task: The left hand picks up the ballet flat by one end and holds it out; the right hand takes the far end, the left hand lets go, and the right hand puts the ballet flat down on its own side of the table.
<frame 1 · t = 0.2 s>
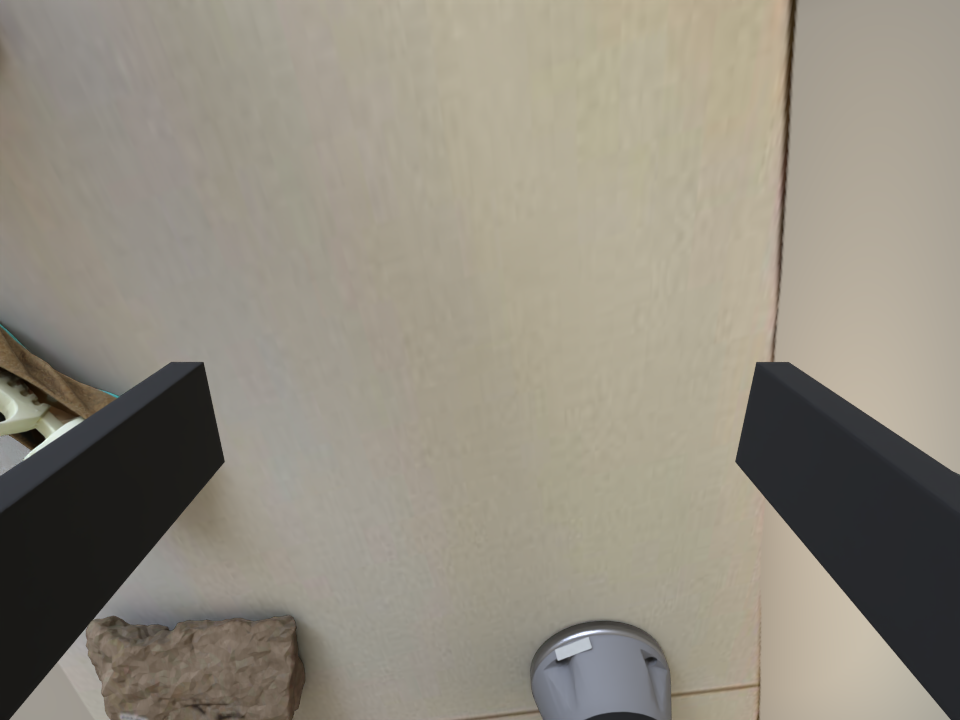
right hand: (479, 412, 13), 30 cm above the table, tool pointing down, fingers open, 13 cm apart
stone: (214, 649, 58), on the table
ballet flat: (73, 391, 45), on the table
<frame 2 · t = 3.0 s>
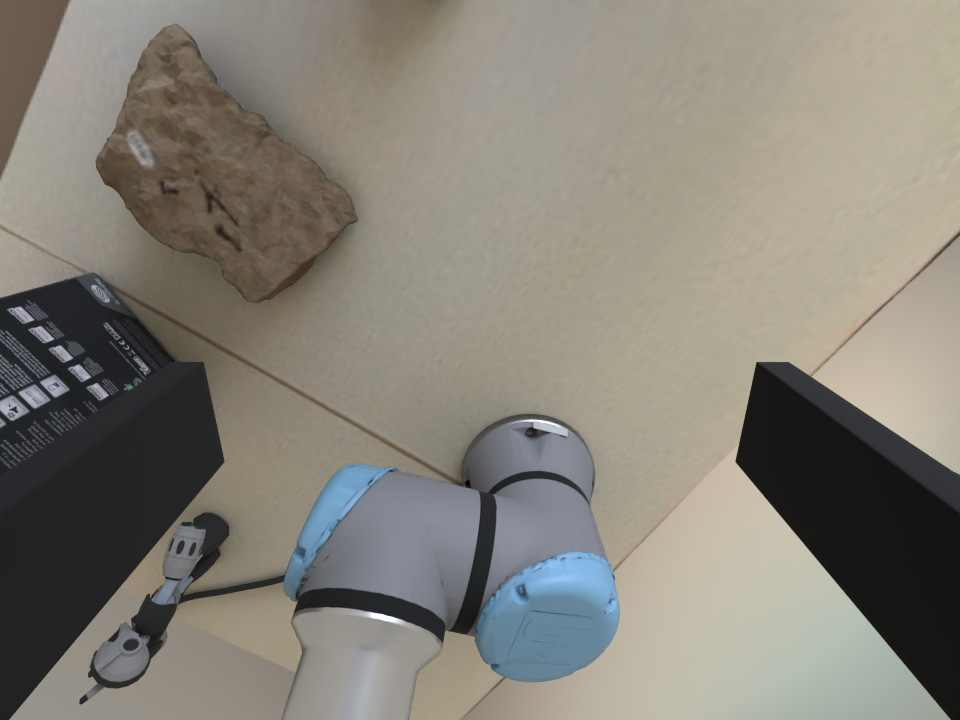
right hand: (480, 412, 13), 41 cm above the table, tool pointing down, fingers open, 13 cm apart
stone: (241, 179, 49), on the table
robot: (208, 537, 65), on the table
graphics card box: (136, 347, 55), on the table
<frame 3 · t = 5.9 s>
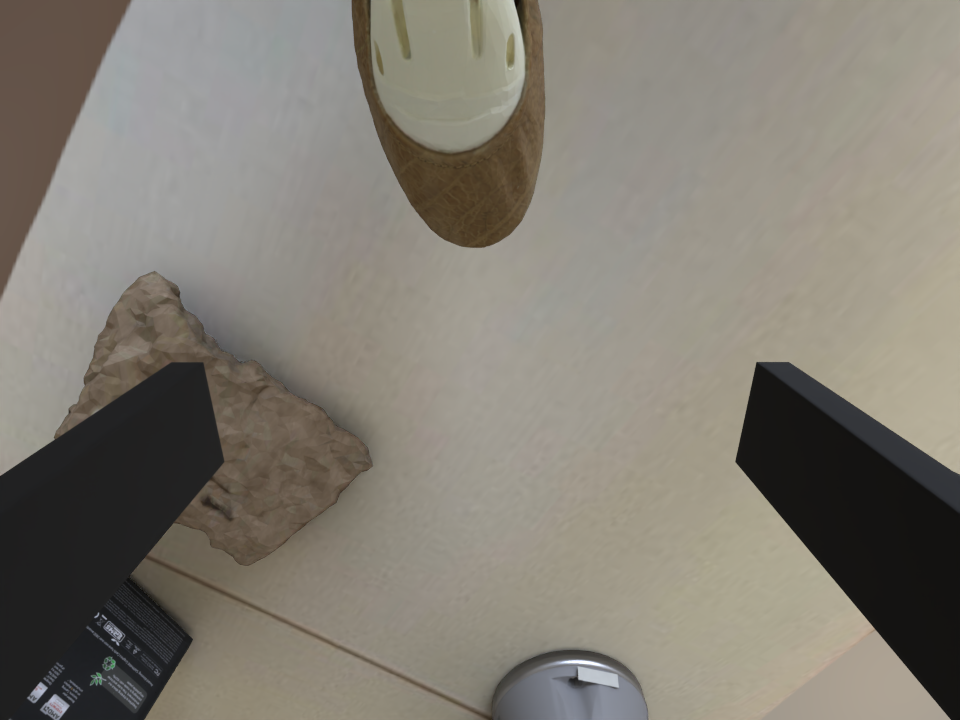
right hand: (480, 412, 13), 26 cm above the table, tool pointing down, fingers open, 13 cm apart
stone: (233, 417, 41), on the table
graphics card box: (110, 586, 47), on the table
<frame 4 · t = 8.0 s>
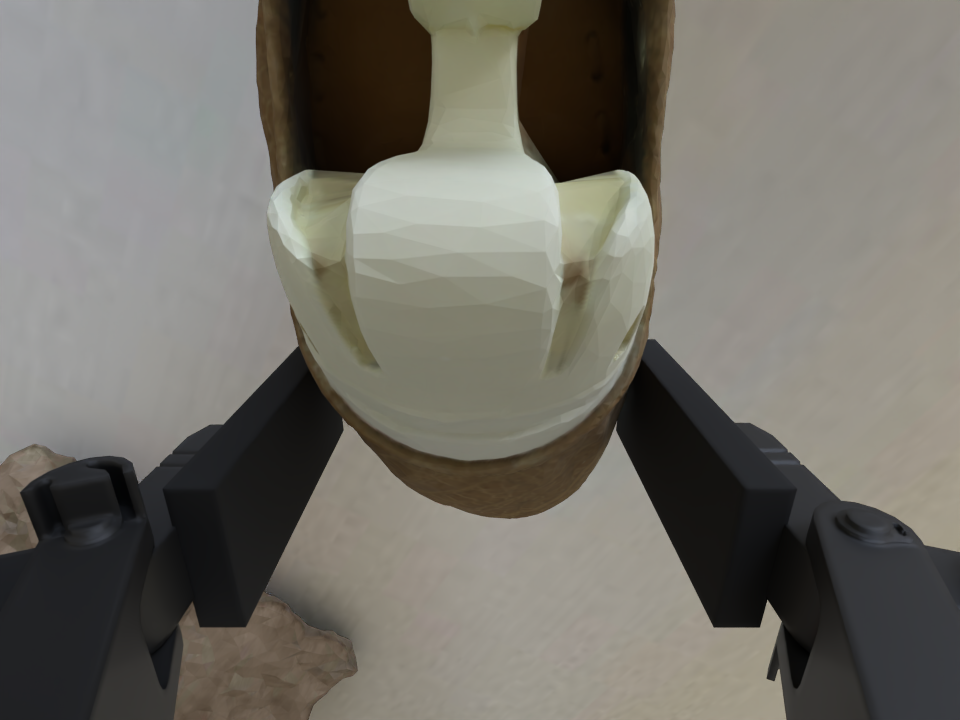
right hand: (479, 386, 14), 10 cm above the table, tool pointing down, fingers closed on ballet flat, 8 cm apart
stone: (169, 602, 30), on the table
ballet flat: (477, 38, 12), point 10 cm above the table, touching right hand, left hand
when the left hand's fingers open (10 cm above the table, at t = 8.9 s): ballet flat stays where it is, held by the right hand.
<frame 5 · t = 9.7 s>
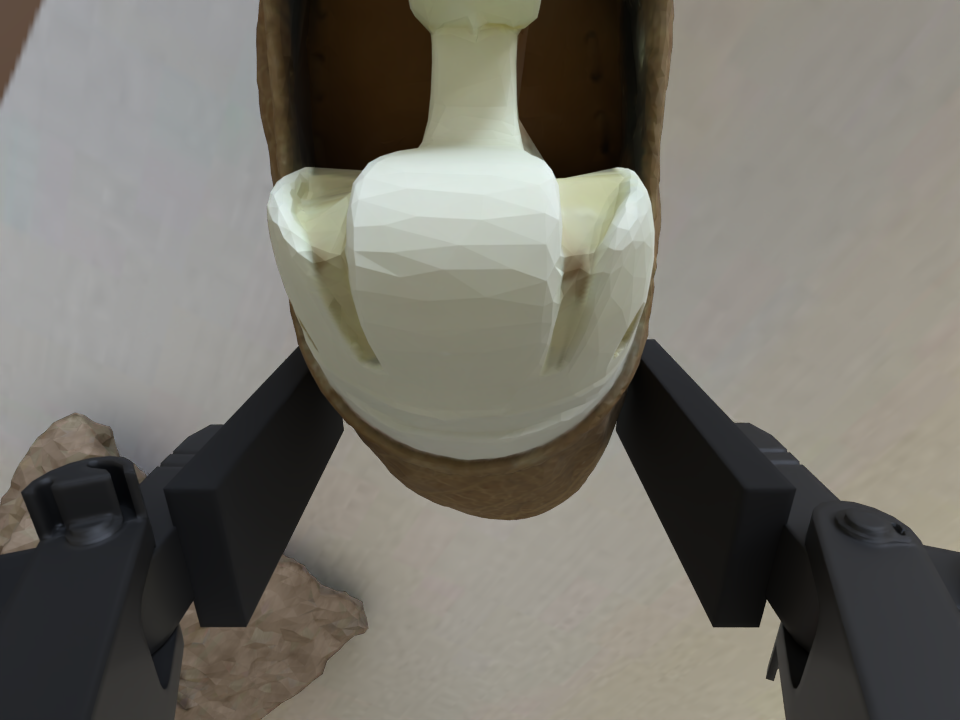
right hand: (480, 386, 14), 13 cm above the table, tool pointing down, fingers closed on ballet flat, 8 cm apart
stone: (193, 565, 33), on the table
ballet flat: (476, 39, 12), point 12 cm above the table, touching right hand
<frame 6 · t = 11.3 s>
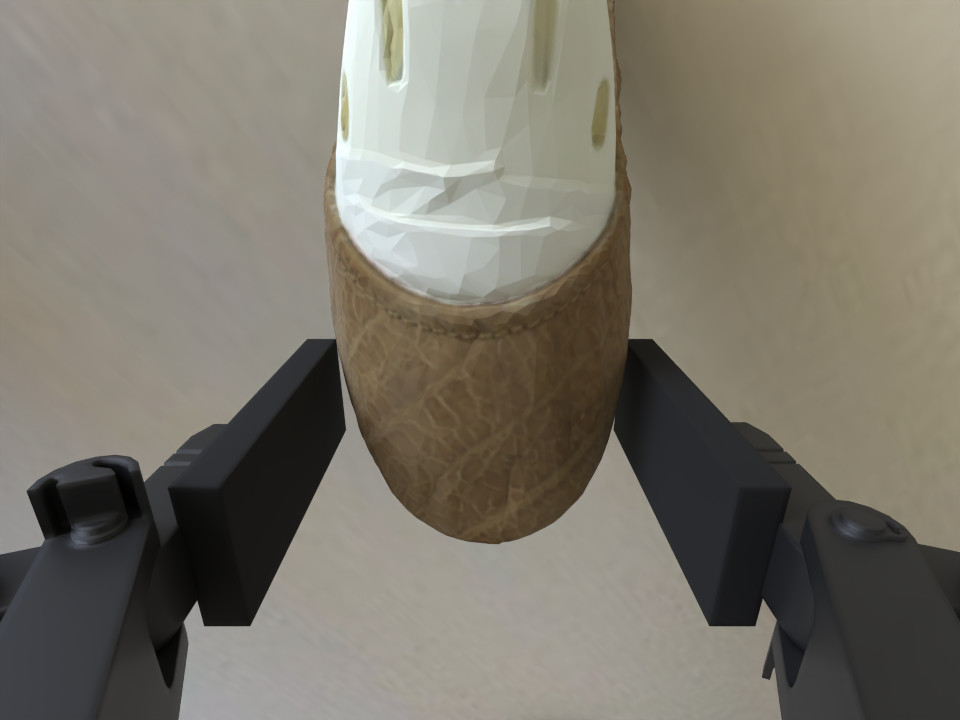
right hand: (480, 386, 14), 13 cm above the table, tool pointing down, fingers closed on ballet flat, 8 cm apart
ballet flat: (494, 148, 17), point 7 cm above the table, tilted 40°, touching right hand
when the right hand's fingers open (2 cm above the table, at t = 12.8 s): ballet flat stays where it is, on the table.
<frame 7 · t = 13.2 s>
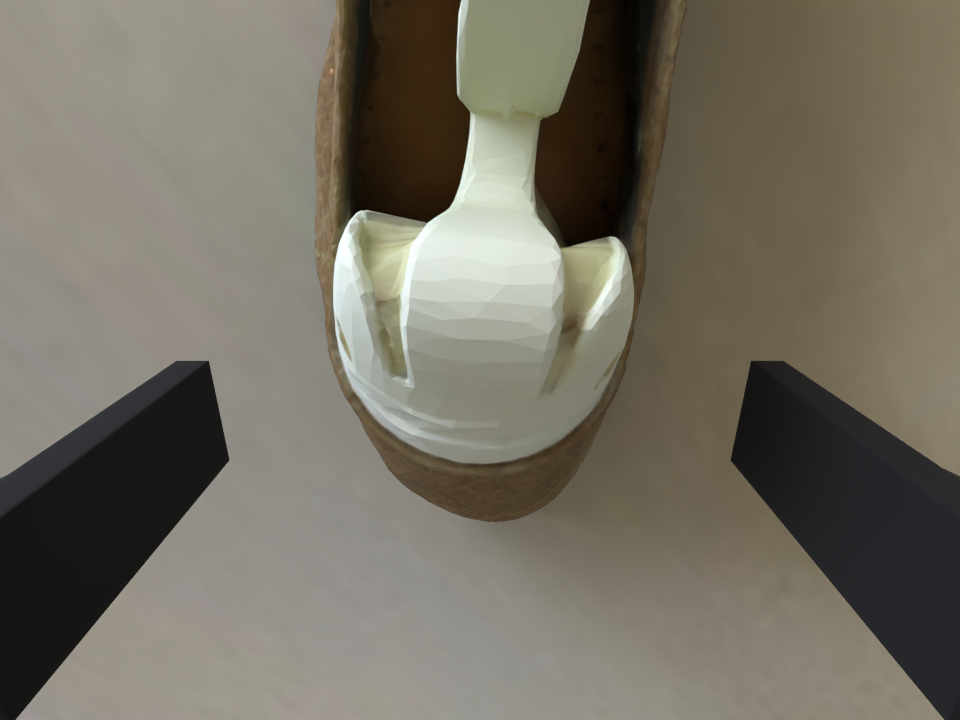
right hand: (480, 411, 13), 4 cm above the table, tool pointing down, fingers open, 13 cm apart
ballet flat: (502, 100, 13), on the table
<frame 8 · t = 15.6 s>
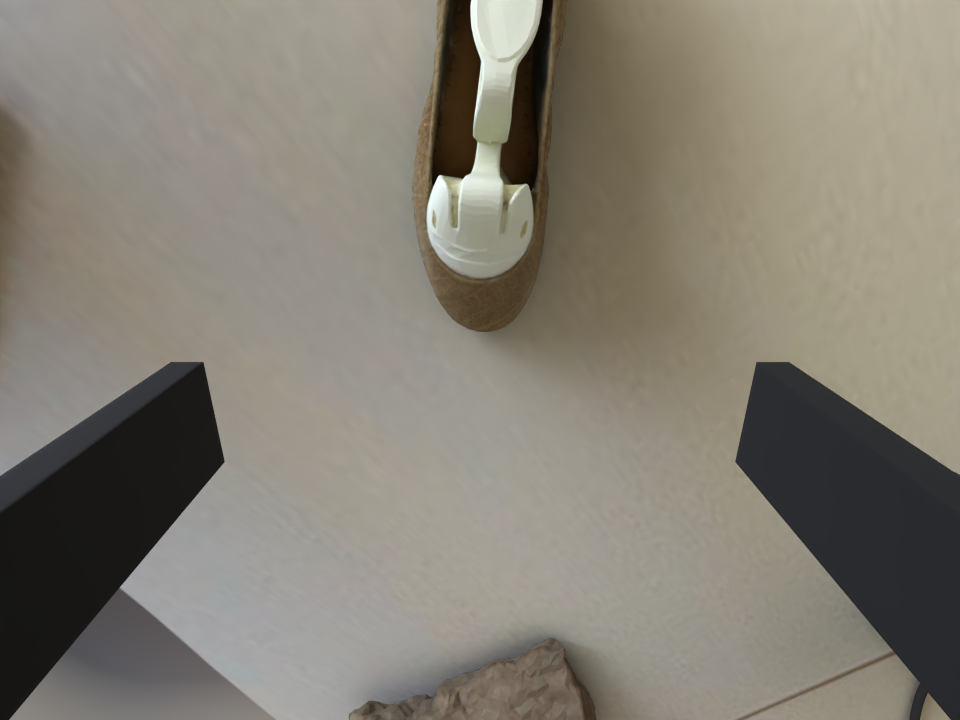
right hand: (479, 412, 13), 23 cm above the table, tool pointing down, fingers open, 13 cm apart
stone: (482, 703, 50), on the table
ballet flat: (490, 132, 31), on the table
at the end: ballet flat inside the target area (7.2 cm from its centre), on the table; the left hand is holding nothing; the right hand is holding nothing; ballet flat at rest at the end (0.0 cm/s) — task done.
